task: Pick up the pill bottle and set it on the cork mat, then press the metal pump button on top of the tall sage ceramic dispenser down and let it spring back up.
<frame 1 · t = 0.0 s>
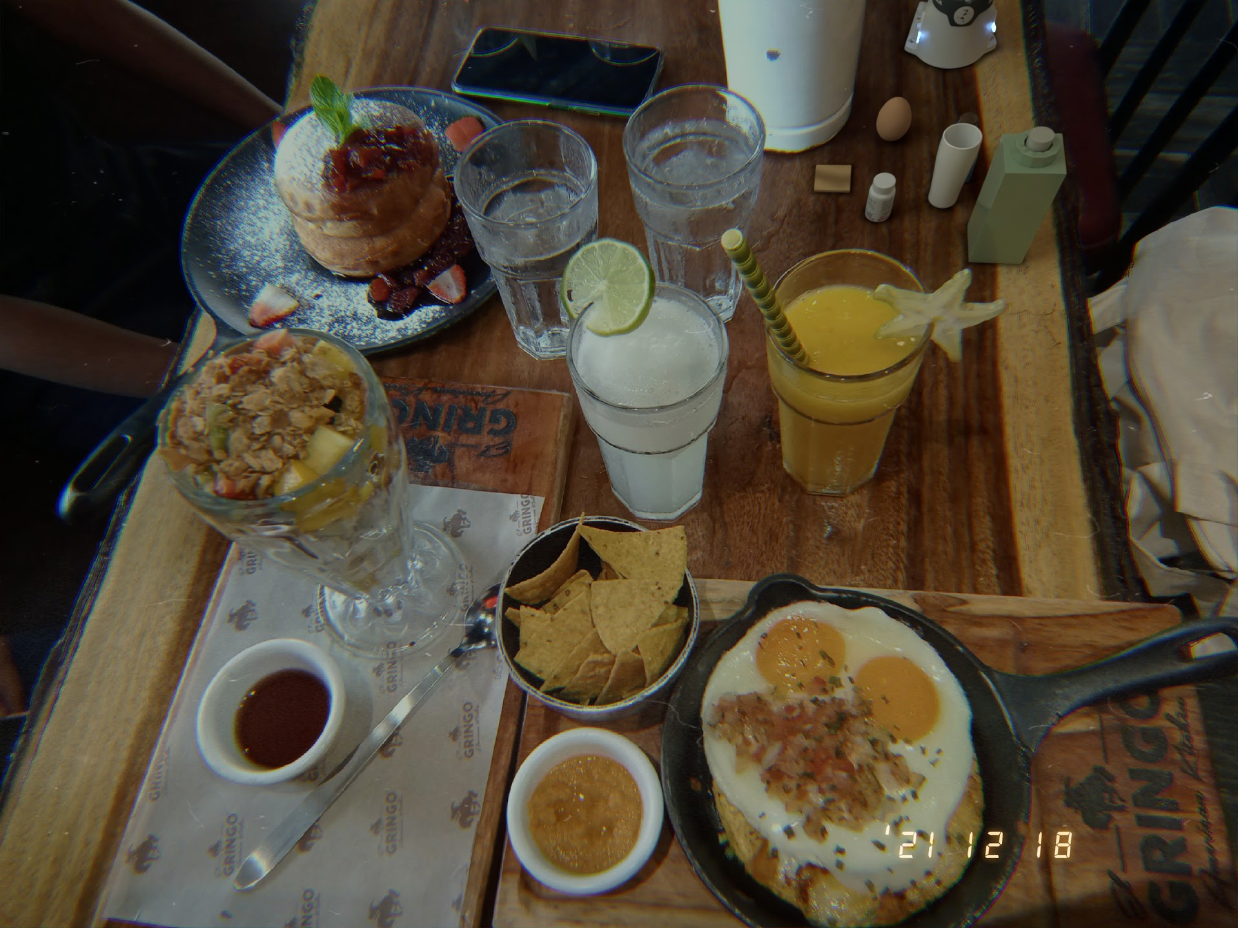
perfume bottle: (951, 171, 146), on the table
egg: (889, 139, 152), on the table
drinking glass: (941, 200, 143), on the table
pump: (1039, 139, 116), point 24 cm above the table, slide at 0.1 cm
dispenser: (993, 244, 137), on the table
mat: (832, 179, 149), on the table
pill bottle: (877, 214, 144), on the table
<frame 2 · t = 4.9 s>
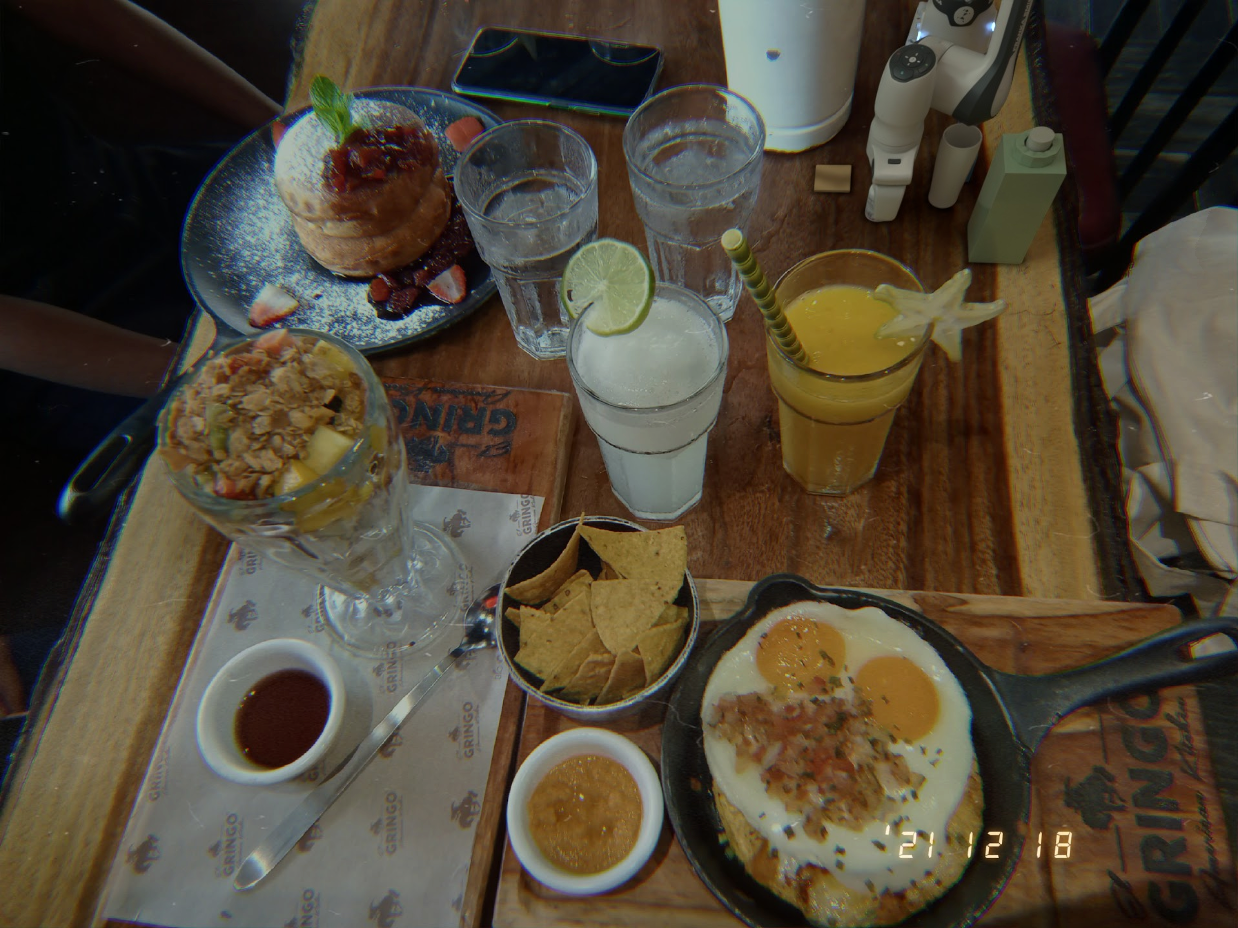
hand: (880, 201, 141), 3 cm above the table, tool pointing down, fingers closed on pill bottle, 5 cm apart
pill bottle: (877, 214, 144), on the table, touching gripper
everything else where it was.
when the fingers open (4 cm above the table, at t = 10.9 s): pill bottle stays where it is, resting on mat.
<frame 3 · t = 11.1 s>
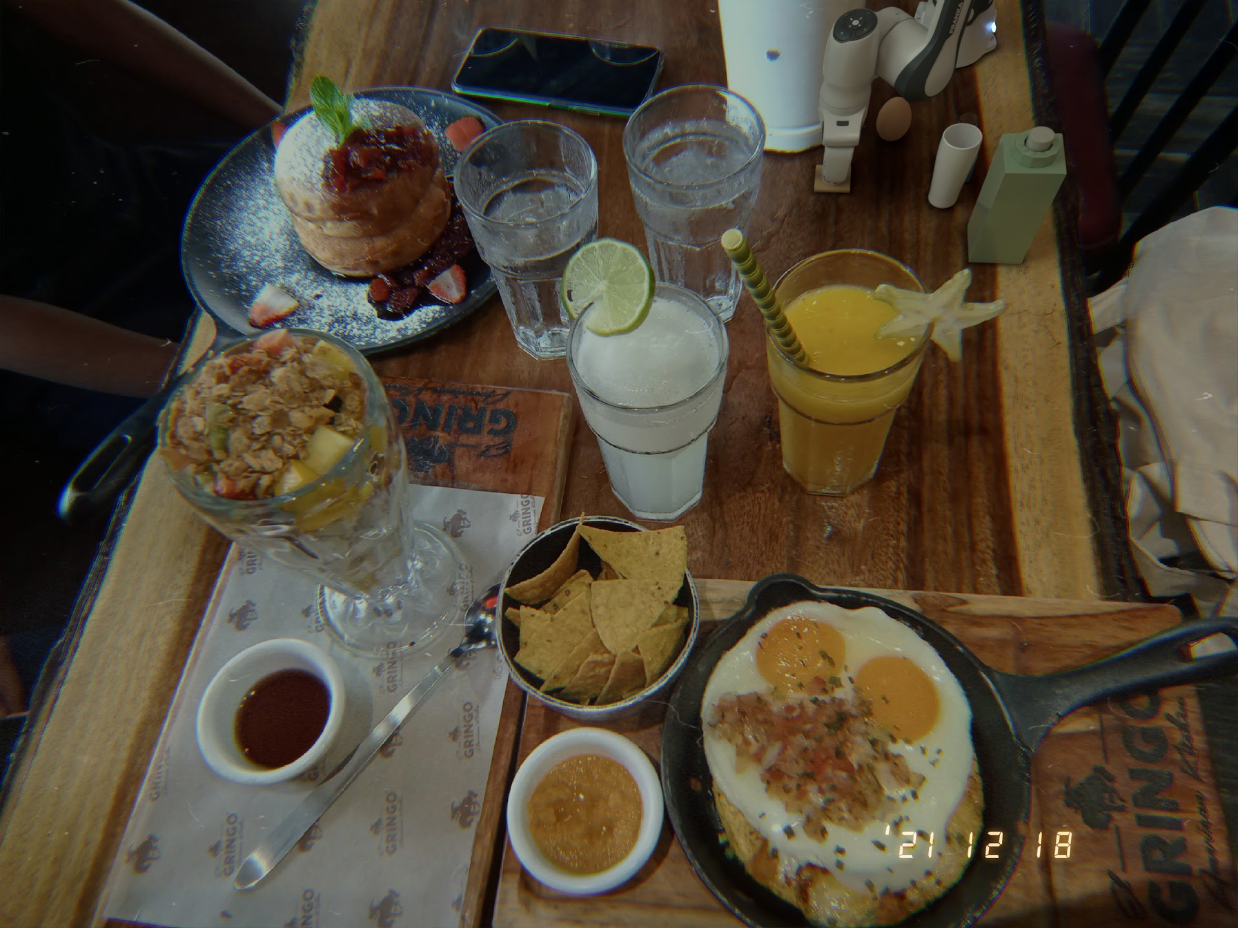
hand: (834, 166, 146), 3 cm above the table, tool pointing down, fingers open, 6 cm apart
pill bottle: (833, 178, 149), resting on mat
everything else where it was.
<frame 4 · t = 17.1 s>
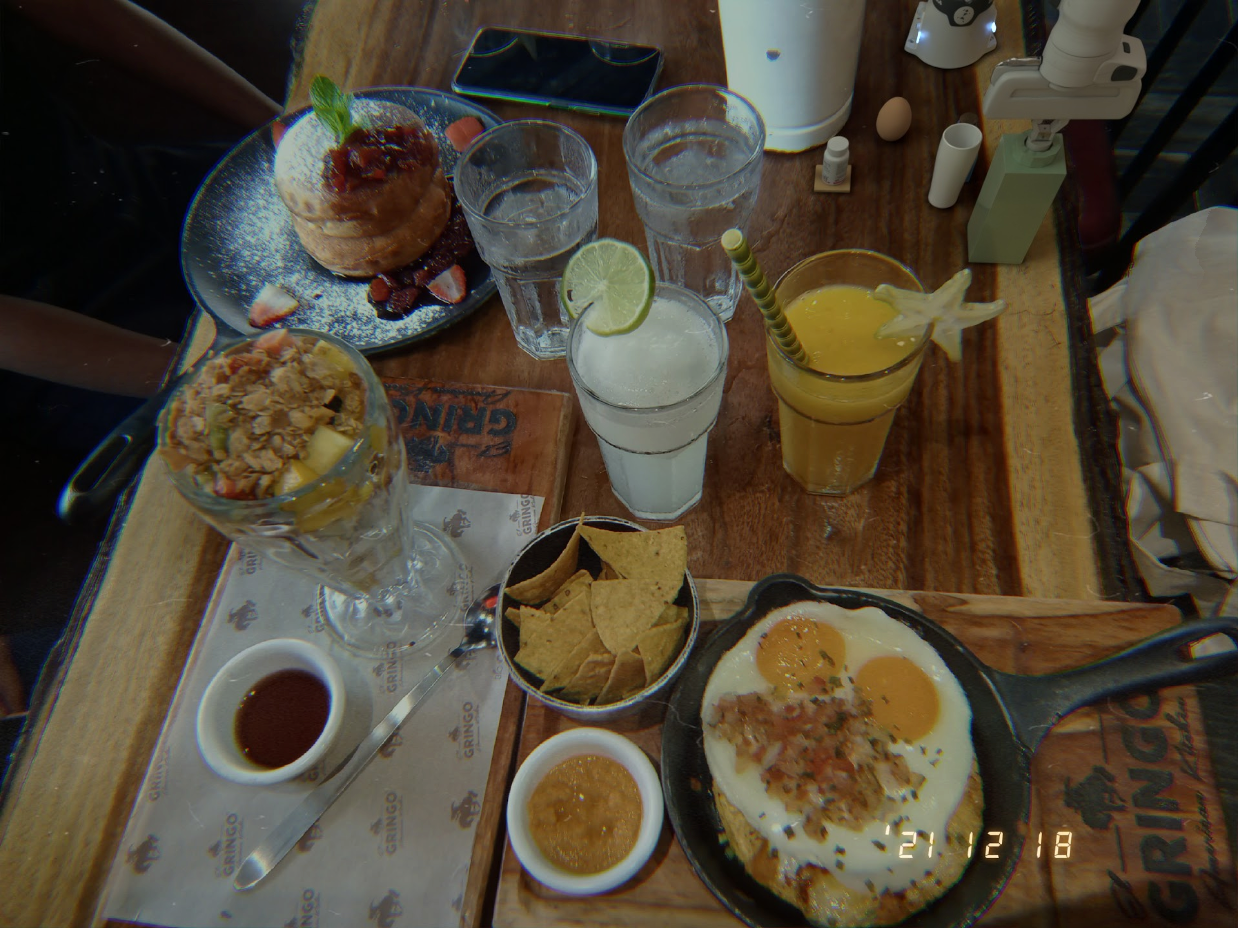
hand: (1040, 138, 115), 24 cm above the table, tool pointing down, fingers closed, pressing on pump
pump: (1038, 143, 116), point 23 cm above the table, slide at -0.7 cm, touching gripper
everything else where it was.
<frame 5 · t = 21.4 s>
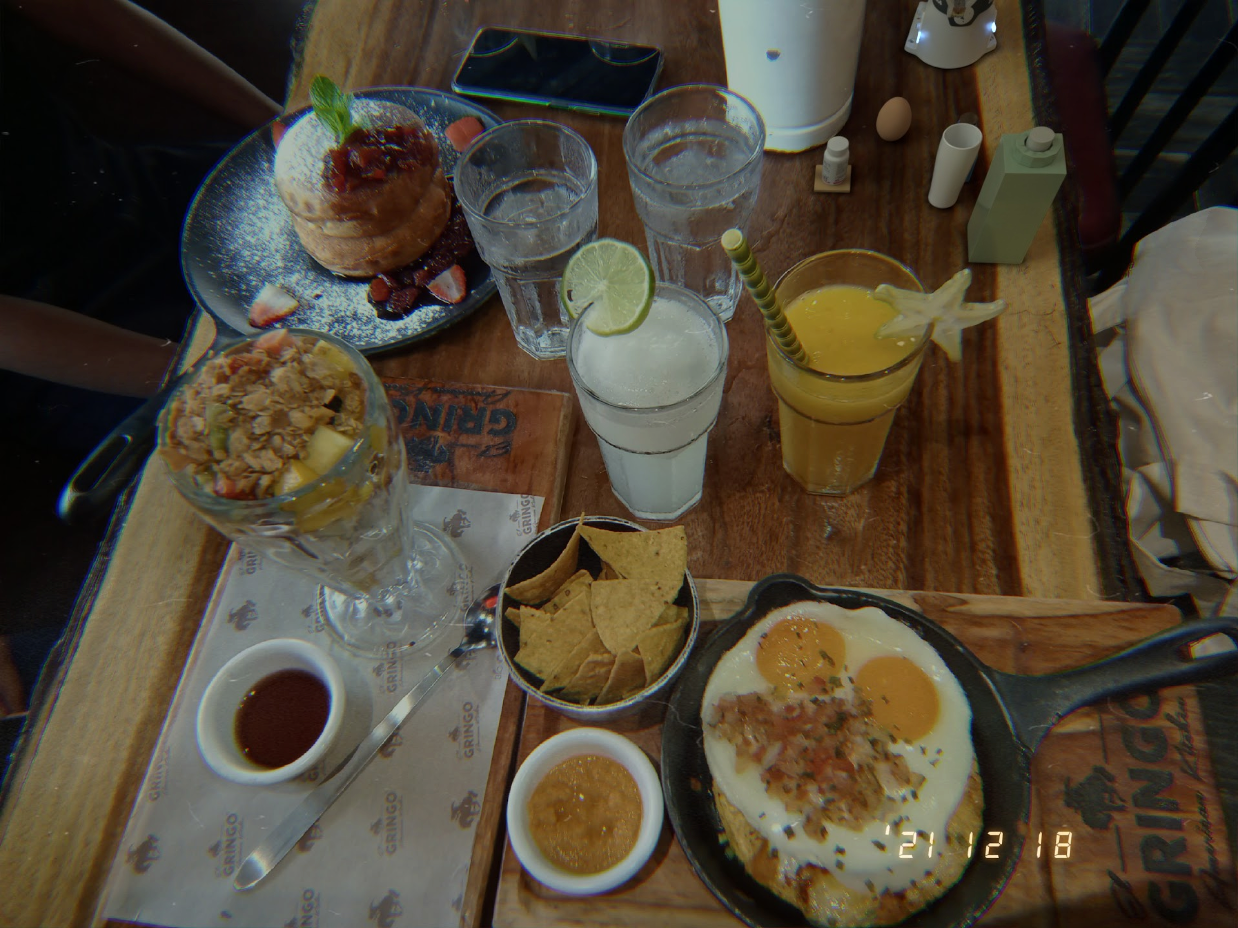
hand: (956, 15, 114), 35 cm above the table, tool pointing down, fingers closed
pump: (1039, 139, 116), point 24 cm above the table, slide at 0.1 cm
everything else where it was.
at the end: pill bottle 0.1 cm off-centre on the mat, point 0.4 cm above the mat's base; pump pushed in 1.3 cm at the most during the clip, back to where it started at the end; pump slide at 0.1 cm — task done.
